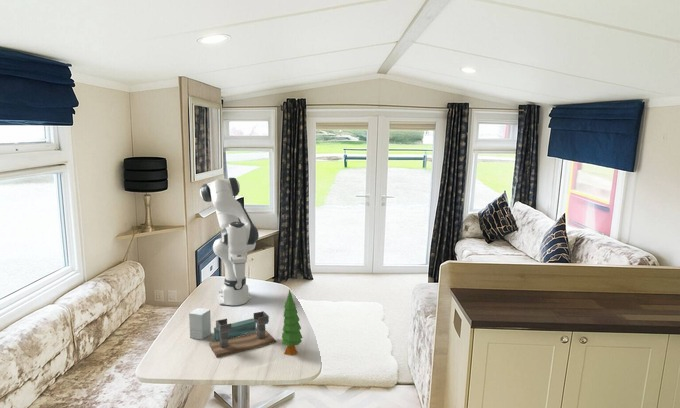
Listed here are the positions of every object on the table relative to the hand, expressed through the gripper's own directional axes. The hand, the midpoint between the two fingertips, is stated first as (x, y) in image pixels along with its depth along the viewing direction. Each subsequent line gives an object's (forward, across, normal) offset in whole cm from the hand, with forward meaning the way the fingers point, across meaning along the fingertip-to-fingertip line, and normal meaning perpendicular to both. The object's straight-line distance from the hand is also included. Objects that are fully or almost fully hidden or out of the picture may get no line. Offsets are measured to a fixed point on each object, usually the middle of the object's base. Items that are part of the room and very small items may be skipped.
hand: (238, 283), depth 203 cm
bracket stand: (+26, +11, 0) cm, 29 cm away
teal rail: (+26, 0, -2) cm, 26 cm away
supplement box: (+26, -4, -18) cm, 32 cm away
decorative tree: (+27, +25, +21) cm, 42 cm away
